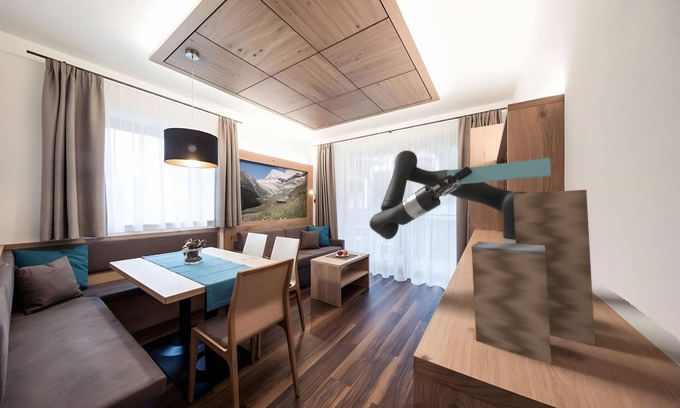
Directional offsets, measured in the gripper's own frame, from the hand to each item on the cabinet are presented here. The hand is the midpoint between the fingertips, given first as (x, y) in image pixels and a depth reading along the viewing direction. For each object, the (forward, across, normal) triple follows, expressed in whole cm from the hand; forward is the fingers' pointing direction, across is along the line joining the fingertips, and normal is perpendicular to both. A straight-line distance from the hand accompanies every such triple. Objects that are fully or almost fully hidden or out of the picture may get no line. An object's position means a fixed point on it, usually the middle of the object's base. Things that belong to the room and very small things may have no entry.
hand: (471, 170), depth 63 cm
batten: (+3, 0, +6) cm, 6 cm away
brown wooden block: (-12, -12, +38) cm, 42 cm away
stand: (-6, 0, +42) cm, 42 cm away
